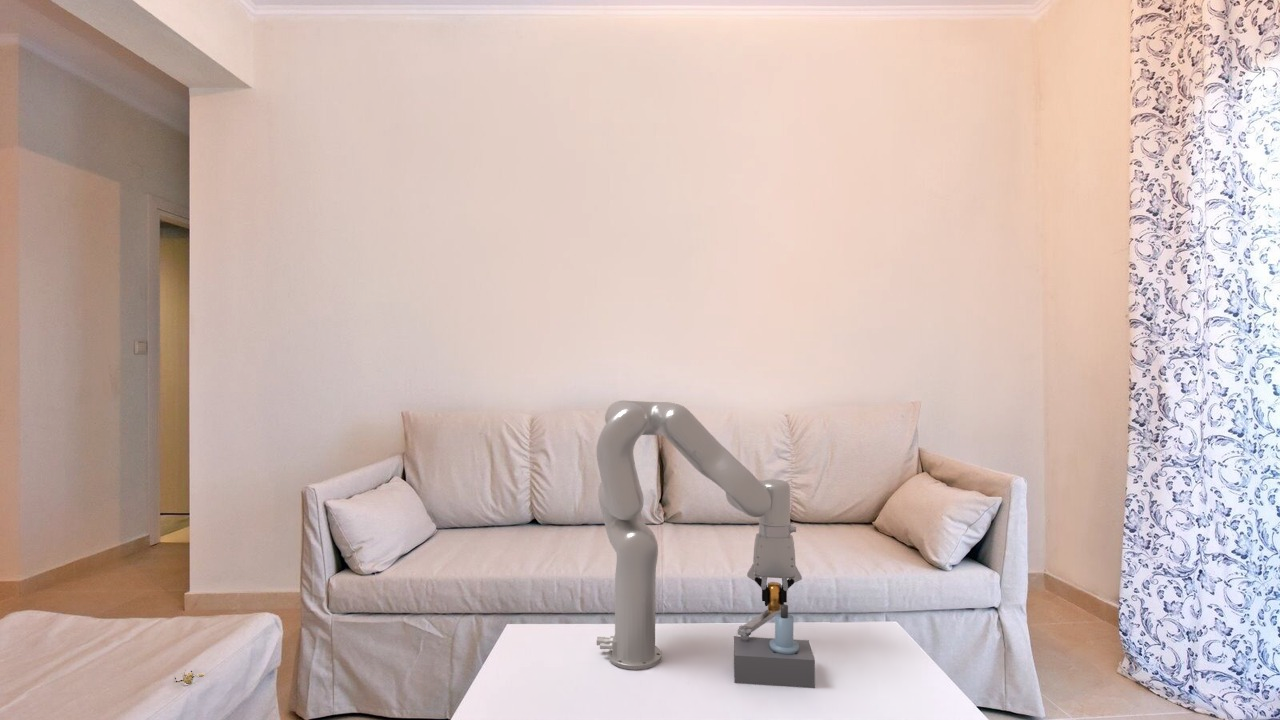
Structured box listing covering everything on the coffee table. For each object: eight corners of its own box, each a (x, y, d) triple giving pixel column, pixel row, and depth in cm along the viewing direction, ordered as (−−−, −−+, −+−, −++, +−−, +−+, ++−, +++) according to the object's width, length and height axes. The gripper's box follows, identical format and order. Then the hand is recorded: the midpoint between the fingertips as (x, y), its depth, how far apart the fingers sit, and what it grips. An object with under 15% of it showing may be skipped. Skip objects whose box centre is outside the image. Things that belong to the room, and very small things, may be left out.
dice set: (186, 689, 141) (186, 680, 141) (168, 685, 142) (168, 677, 142) (207, 678, 146) (208, 669, 146) (189, 675, 147) (189, 666, 147)
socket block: (734, 683, 143) (734, 649, 143) (733, 661, 153) (733, 630, 153) (814, 688, 141) (814, 654, 141) (808, 666, 151) (808, 635, 151)
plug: (770, 672, 144) (770, 610, 144) (768, 658, 150) (768, 599, 150) (800, 674, 143) (800, 612, 143) (797, 660, 150) (797, 601, 150)
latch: (747, 637, 149) (748, 605, 149) (735, 633, 151) (735, 602, 151) (782, 612, 164) (783, 583, 164) (771, 609, 166) (771, 581, 166)
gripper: (807, 528, 166) (806, 600, 166) (740, 525, 168) (740, 597, 168) (810, 536, 158) (810, 612, 159) (741, 533, 161) (740, 608, 161)
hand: (774, 603), depth 163 cm, fingers closed on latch, 3 cm apart
